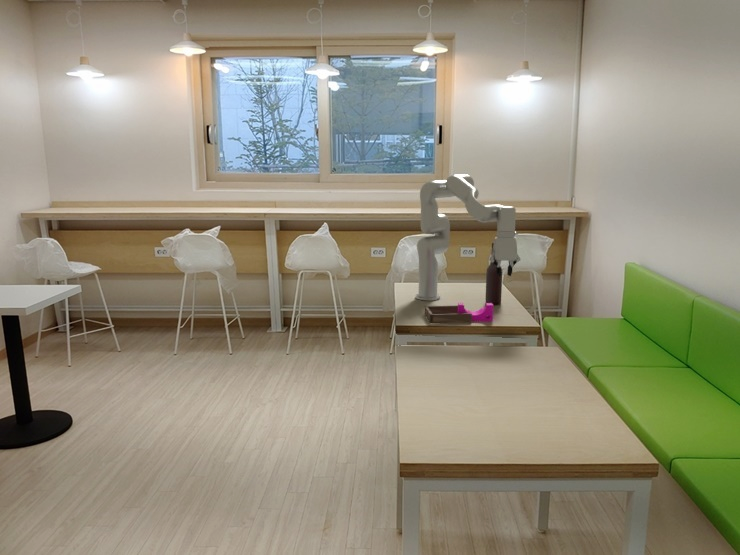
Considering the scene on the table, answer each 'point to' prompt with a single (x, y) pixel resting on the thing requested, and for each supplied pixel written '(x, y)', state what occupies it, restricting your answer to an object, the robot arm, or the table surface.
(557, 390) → the table surface
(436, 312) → the walnut bay
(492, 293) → the beer bottle
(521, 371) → the table surface
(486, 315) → the magenta curved block
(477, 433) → the table surface
